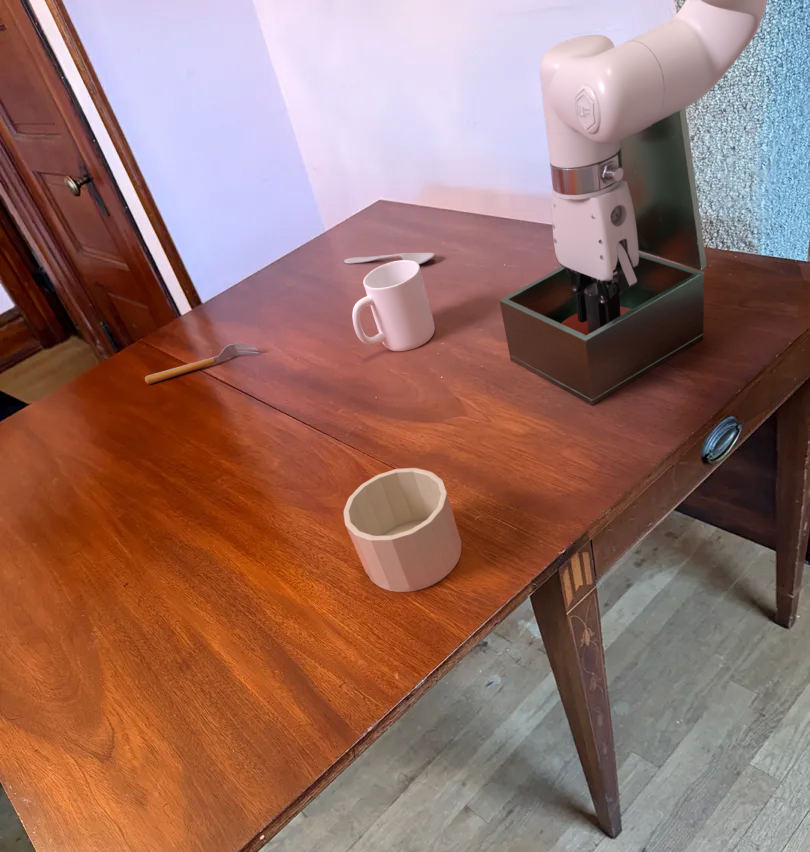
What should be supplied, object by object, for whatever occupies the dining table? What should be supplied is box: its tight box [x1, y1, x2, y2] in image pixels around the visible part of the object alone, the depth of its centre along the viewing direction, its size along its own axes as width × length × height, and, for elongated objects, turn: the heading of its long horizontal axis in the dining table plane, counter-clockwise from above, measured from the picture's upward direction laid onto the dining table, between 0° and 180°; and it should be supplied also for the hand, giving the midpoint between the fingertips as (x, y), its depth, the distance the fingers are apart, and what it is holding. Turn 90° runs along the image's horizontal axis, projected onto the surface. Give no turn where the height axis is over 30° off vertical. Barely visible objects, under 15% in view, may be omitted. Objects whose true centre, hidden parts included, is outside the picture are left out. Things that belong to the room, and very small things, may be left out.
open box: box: [499, 251, 705, 406], centre depth 94 cm, size 18×17×9 cm
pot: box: [342, 467, 463, 593], centre depth 76 cm, size 10×10×8 cm
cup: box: [351, 259, 436, 352], centre depth 109 cm, size 8×12×10 cm
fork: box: [144, 343, 261, 385], centre depth 122 cm, size 2×2×20 cm
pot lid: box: [561, 283, 632, 335], centre depth 93 cm, size 11×11×7 cm
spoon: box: [343, 252, 435, 265], centre depth 134 cm, size 4×21×2 cm, turn 56°
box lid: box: [621, 108, 707, 271], centre depth 86 cm, size 18×17×5 cm
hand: (599, 320), depth 94 cm, fingers closed on pot lid, 3 cm apart
